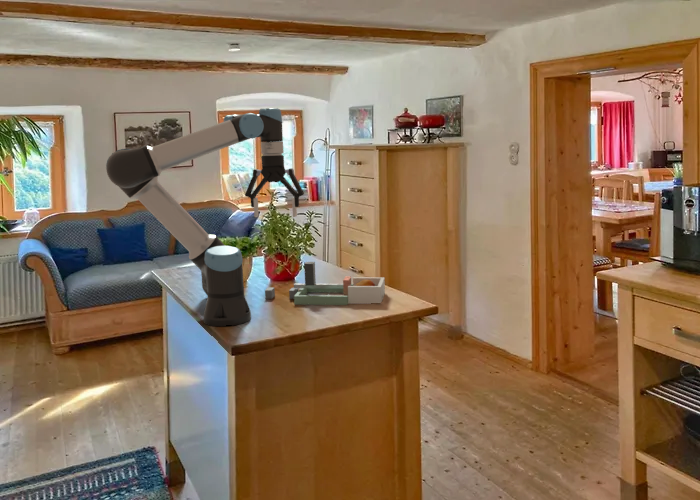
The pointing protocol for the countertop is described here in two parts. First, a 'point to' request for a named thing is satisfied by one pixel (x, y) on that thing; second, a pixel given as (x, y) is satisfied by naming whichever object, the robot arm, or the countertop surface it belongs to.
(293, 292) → the pitch
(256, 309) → the countertop surface
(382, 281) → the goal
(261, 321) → the countertop surface
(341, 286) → the kicker rod
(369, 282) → the fruit
